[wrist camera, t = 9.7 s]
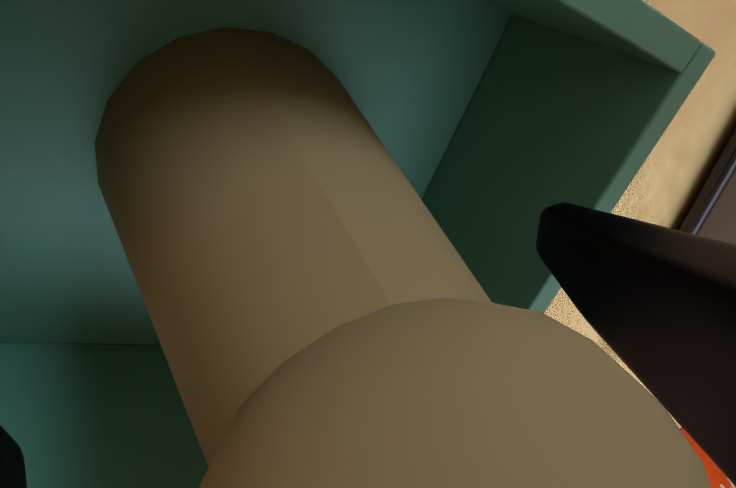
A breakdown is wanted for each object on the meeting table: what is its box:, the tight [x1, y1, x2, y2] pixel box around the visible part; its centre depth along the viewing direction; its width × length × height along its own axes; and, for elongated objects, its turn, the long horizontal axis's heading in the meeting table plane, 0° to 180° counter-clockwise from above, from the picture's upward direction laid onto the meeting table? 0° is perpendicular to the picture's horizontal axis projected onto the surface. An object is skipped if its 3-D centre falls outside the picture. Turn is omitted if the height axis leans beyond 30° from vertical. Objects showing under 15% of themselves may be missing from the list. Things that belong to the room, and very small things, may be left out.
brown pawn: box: [95, 27, 711, 488], centre depth 8 cm, size 6×6×11 cm
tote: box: [0, 0, 715, 488], centre depth 11 cm, size 12×12×6 cm
